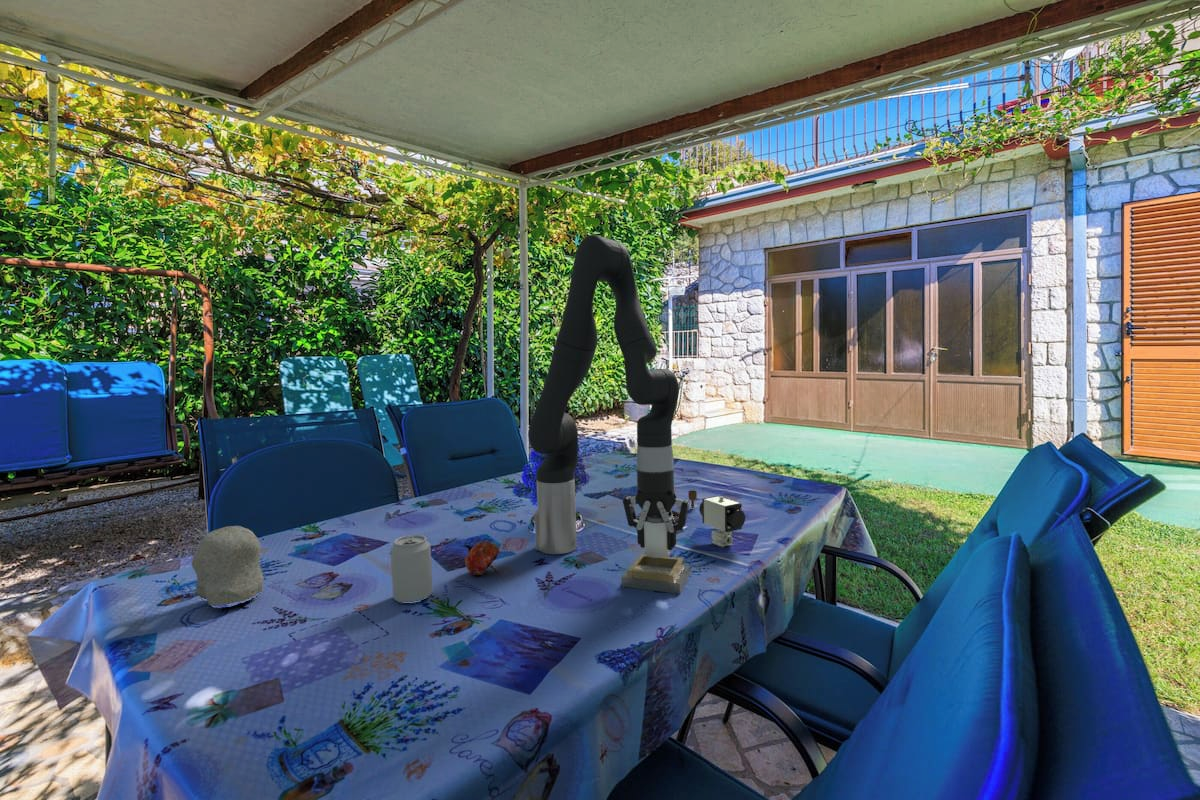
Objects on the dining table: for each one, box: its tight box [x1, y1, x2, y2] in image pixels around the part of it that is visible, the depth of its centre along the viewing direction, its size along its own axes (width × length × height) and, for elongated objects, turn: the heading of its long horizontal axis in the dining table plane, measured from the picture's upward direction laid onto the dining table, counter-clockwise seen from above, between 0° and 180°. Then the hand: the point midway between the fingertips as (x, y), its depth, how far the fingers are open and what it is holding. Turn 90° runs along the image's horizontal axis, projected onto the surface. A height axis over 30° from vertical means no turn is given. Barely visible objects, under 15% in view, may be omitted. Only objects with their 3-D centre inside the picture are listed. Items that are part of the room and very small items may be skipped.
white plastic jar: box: [644, 515, 671, 558], centre depth 117 cm, size 5×5×8 cm
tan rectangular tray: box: [621, 553, 691, 595], centre depth 117 cm, size 12×10×4 cm
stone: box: [191, 525, 264, 606], centre depth 111 cm, size 11×11×15 cm
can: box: [389, 534, 434, 602], centre depth 112 cm, size 8×8×12 cm
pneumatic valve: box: [698, 495, 746, 549], centre depth 138 cm, size 6×12×12 cm, turn 29°
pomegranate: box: [463, 540, 501, 576], centre depth 124 cm, size 7×7×10 cm
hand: (657, 547), depth 117 cm, fingers closed on white plastic jar, 5 cm apart
